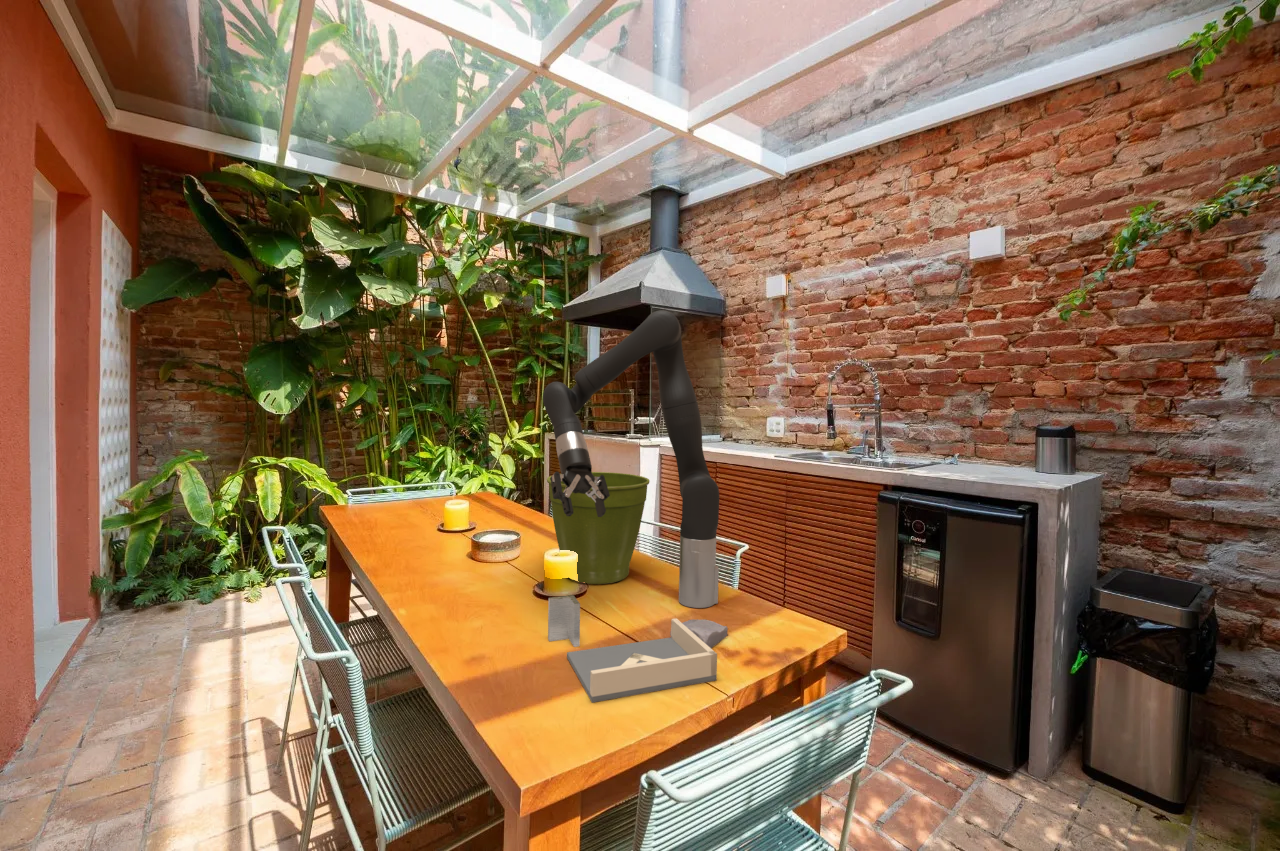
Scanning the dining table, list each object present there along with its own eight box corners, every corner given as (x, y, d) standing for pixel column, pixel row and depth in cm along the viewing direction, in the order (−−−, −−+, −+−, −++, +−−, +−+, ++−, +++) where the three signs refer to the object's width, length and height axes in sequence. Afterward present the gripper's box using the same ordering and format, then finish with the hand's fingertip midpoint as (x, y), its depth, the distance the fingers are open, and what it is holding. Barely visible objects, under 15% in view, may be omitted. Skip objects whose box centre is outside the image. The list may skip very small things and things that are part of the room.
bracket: (572, 635, 124) (573, 595, 124) (579, 646, 119) (580, 603, 119) (548, 639, 122) (548, 597, 122) (553, 649, 117) (554, 606, 117)
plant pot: (524, 575, 165) (525, 477, 164) (596, 555, 188) (598, 469, 187) (597, 600, 146) (598, 489, 145) (668, 575, 169) (670, 479, 167)
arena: (676, 641, 122) (676, 618, 122) (716, 680, 106) (717, 653, 105) (566, 657, 114) (567, 632, 114) (592, 702, 97) (592, 673, 97)
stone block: (665, 649, 121) (708, 653, 116) (664, 626, 122) (706, 629, 117) (690, 639, 131) (731, 642, 126) (689, 617, 132) (729, 619, 127)
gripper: (554, 444, 132) (567, 507, 125) (605, 449, 141) (620, 509, 133) (540, 459, 137) (551, 521, 130) (590, 464, 146) (603, 522, 138)
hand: (586, 515), depth 131 cm, fingers open, 8 cm apart
